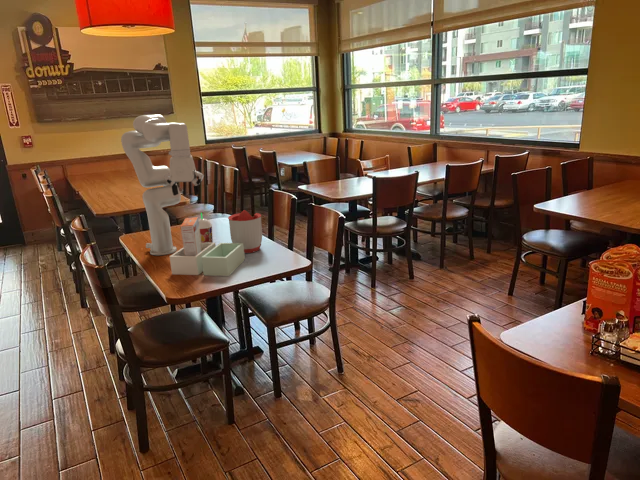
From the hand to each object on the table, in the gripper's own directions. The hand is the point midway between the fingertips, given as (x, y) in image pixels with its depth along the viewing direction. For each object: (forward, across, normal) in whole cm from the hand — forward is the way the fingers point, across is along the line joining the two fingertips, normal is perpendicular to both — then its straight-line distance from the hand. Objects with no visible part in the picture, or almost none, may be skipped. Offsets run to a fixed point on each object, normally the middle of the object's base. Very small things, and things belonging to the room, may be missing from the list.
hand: (186, 194), depth 197 cm
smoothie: (+32, -3, +18) cm, 37 cm away
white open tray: (+32, 0, 0) cm, 32 cm away
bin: (+32, +14, 0) cm, 35 cm away
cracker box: (+33, 0, 0) cm, 33 cm away
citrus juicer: (+33, +16, +25) cm, 44 cm away
